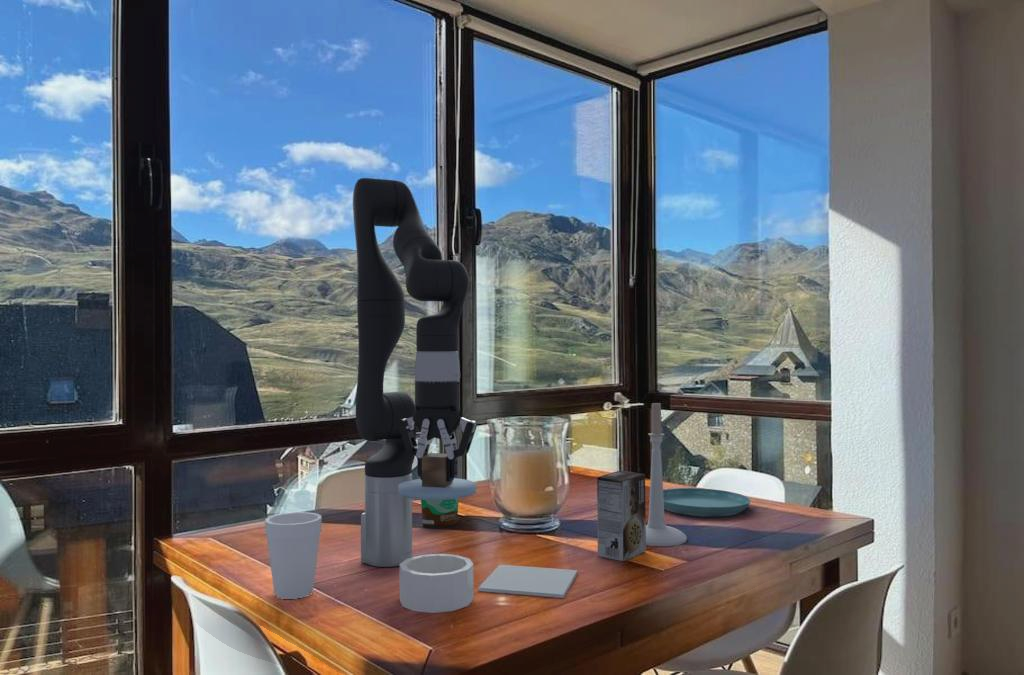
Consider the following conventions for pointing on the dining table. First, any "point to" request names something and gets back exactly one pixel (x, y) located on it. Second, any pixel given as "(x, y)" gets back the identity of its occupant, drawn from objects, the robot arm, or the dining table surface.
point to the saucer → (704, 502)
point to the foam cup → (293, 552)
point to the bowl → (436, 583)
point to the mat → (529, 581)
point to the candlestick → (659, 493)
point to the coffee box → (621, 515)
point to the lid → (436, 482)
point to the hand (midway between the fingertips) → (437, 479)
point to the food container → (439, 512)
